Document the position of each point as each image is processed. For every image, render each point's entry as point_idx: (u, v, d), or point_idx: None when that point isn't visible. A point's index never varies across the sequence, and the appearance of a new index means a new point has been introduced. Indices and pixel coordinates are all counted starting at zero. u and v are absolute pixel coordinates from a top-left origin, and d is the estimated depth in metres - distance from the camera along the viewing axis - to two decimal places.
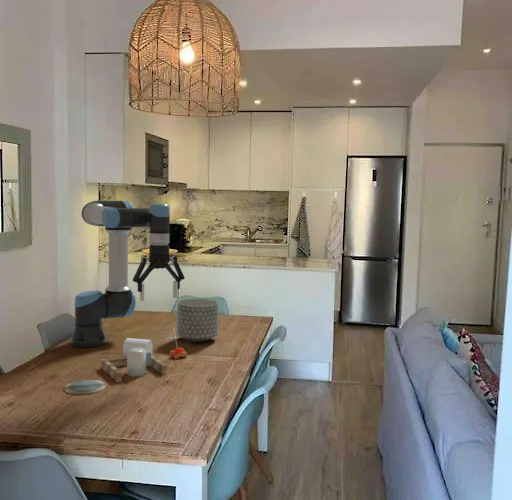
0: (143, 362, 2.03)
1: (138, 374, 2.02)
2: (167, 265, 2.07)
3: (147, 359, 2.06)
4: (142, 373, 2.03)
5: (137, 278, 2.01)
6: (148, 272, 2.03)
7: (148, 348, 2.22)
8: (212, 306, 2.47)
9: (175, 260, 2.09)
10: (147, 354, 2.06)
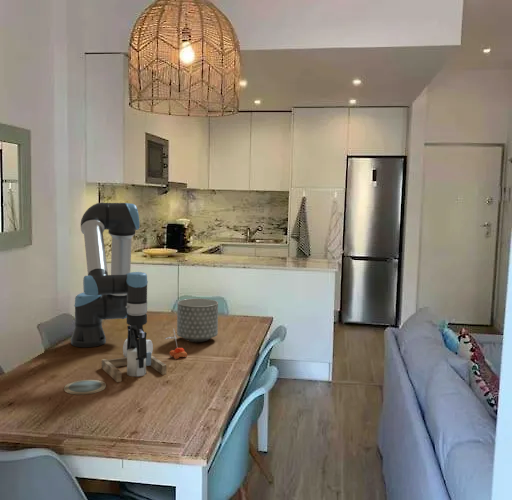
0: None
1: None
2: (134, 337, 2.01)
3: (147, 359, 2.06)
4: None
5: (127, 346, 2.09)
6: (130, 341, 2.06)
7: (148, 348, 2.22)
8: (212, 306, 2.47)
9: (139, 336, 1.98)
10: (147, 354, 2.06)
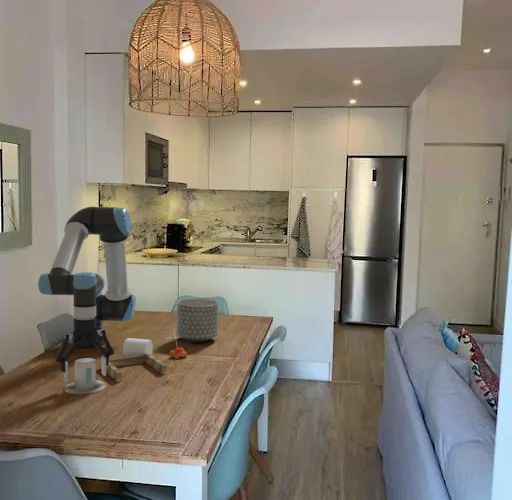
0: (77, 374, 1.85)
1: (75, 385, 1.87)
2: None
3: (86, 375, 1.84)
4: (76, 386, 1.86)
5: None
6: None
7: (148, 348, 2.22)
8: (212, 306, 2.47)
9: None
10: (86, 370, 1.84)
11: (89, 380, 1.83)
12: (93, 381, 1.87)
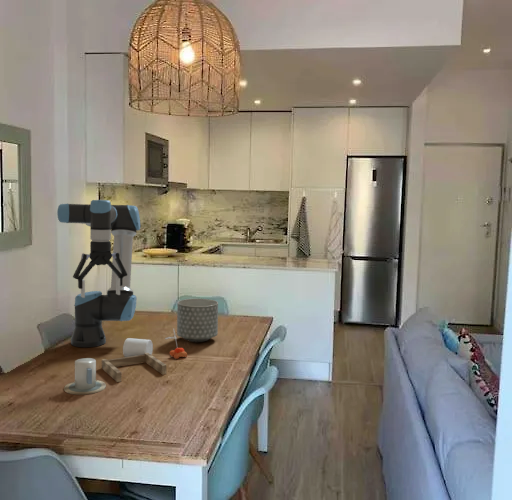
0: (77, 374, 1.85)
1: (75, 385, 1.87)
2: None
3: (87, 375, 1.84)
4: (76, 386, 1.86)
5: None
6: None
7: (148, 348, 2.22)
8: (212, 306, 2.47)
9: None
10: (87, 370, 1.84)
11: (89, 380, 1.83)
12: (93, 381, 1.87)
